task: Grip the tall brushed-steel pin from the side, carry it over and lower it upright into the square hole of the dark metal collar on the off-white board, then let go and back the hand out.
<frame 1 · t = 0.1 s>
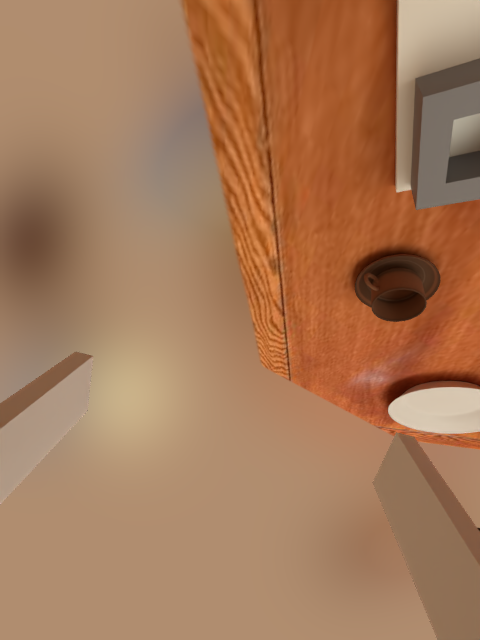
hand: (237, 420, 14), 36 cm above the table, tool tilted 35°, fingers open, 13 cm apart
cup and saucer: (394, 276, 51), on the table
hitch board: (476, 83, 31), on the table
bowl: (444, 397, 77), on the table
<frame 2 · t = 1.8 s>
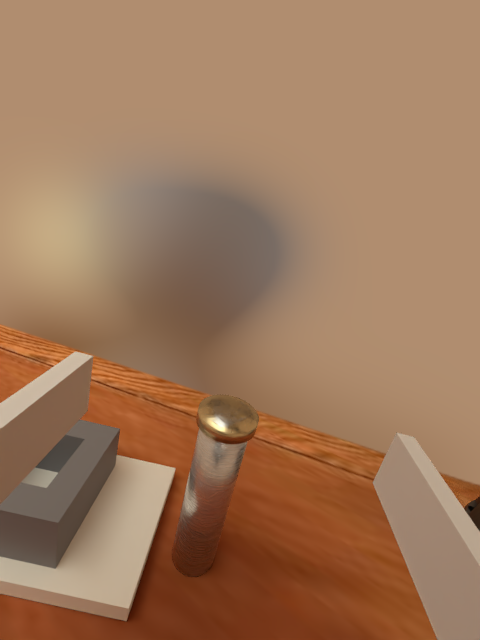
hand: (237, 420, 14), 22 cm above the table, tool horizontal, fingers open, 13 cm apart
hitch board: (64, 514, 31), on the table
steel pin: (193, 553, 30), on the table
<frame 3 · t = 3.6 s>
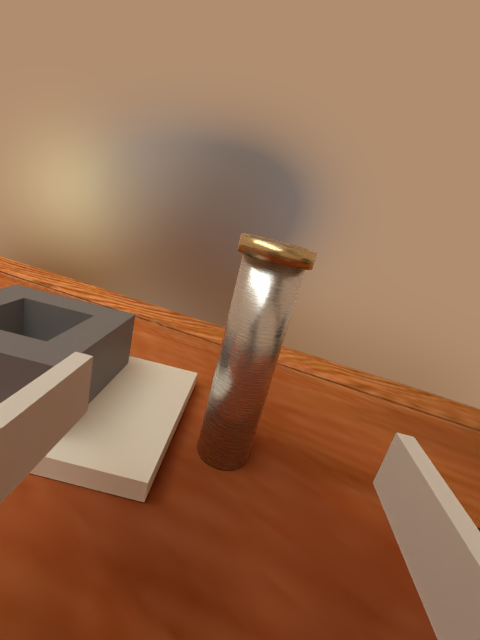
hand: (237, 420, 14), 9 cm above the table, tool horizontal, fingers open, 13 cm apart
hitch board: (67, 401, 26), on the table
steel pin: (222, 450, 25), on the table
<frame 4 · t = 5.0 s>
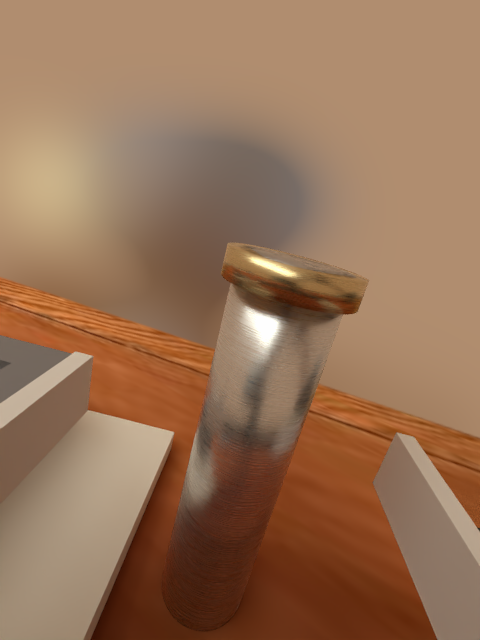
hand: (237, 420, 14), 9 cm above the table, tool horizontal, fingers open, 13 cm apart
steel pin: (203, 580, 16), on the table
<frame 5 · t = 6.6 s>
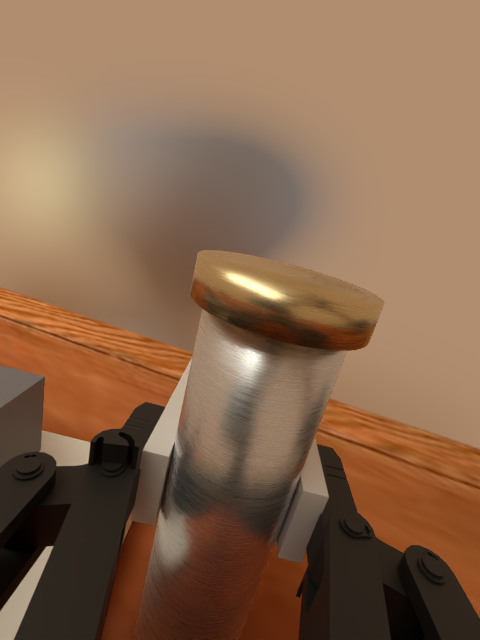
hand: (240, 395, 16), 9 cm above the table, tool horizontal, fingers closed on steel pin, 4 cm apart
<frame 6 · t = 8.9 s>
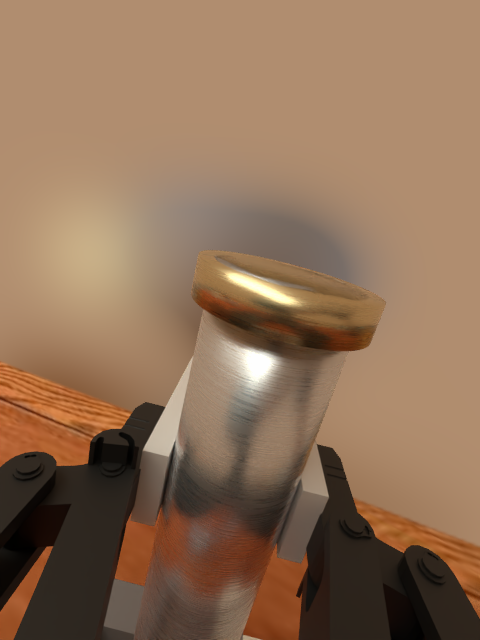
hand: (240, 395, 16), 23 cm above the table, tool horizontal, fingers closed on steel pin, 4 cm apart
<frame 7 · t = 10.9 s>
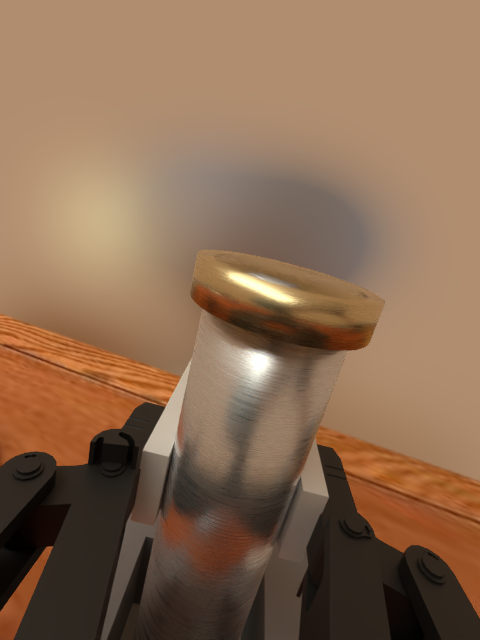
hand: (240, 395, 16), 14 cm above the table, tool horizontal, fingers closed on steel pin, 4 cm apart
when the fingers open (12 cm above the table, at t = 11.7 s): steel pin drops 1 cm, resting on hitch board.
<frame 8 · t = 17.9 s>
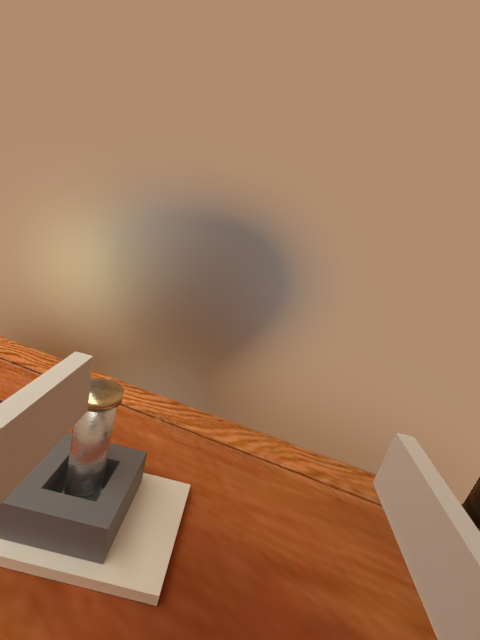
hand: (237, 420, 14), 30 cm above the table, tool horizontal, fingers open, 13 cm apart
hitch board: (103, 521, 39), on the table
steel pin: (80, 506, 38), point 2 cm above the table, touching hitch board
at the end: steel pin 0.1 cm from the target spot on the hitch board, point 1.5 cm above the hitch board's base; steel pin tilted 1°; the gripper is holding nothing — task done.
